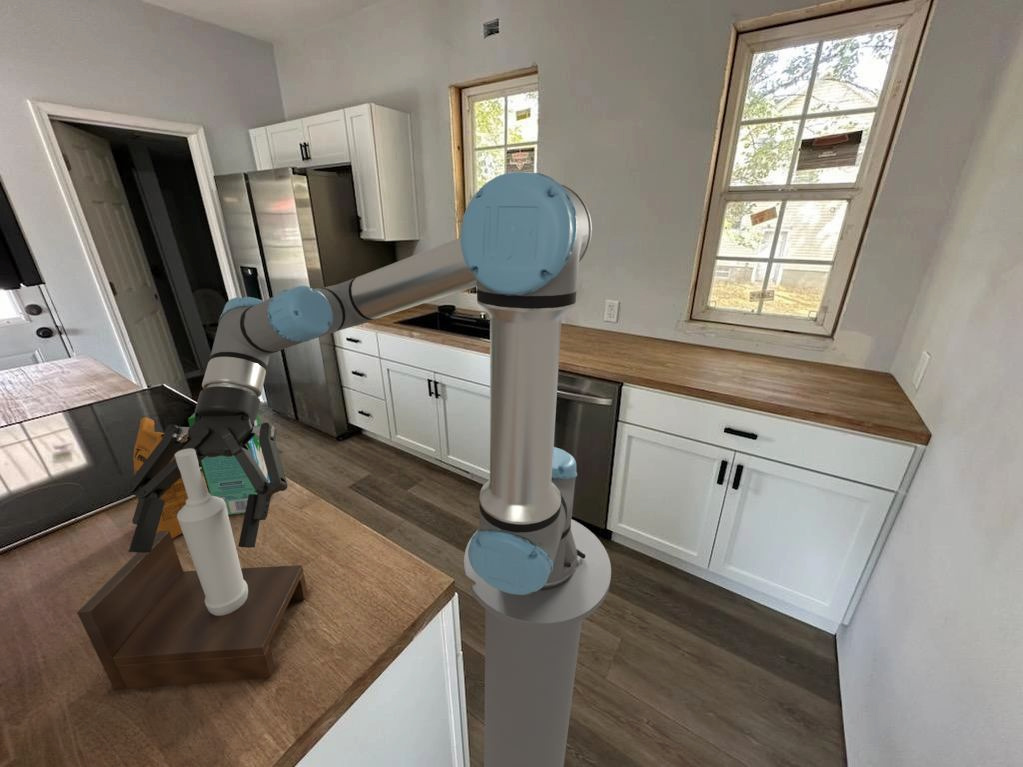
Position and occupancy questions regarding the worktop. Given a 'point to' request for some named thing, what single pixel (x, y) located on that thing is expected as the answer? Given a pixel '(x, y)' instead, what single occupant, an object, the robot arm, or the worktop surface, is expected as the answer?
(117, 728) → the worktop surface
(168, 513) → the coffee package
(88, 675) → the worktop surface
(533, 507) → the robot arm
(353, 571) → the worktop surface
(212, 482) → the milk carton
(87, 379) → the worktop surface
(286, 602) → the shelf
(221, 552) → the bottle
